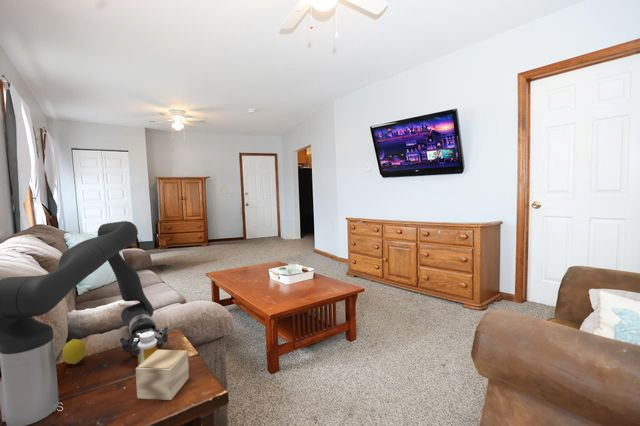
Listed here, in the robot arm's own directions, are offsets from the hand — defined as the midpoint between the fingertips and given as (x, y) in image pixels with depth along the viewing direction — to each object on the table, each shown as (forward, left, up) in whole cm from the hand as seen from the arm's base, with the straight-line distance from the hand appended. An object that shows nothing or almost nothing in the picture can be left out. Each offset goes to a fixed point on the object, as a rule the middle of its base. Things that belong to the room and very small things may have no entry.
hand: (148, 349), depth 90 cm
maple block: (+9, -8, -6) cm, 14 cm away
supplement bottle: (-2, +2, -6) cm, 7 cm away
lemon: (-25, +1, -6) cm, 25 cm away
